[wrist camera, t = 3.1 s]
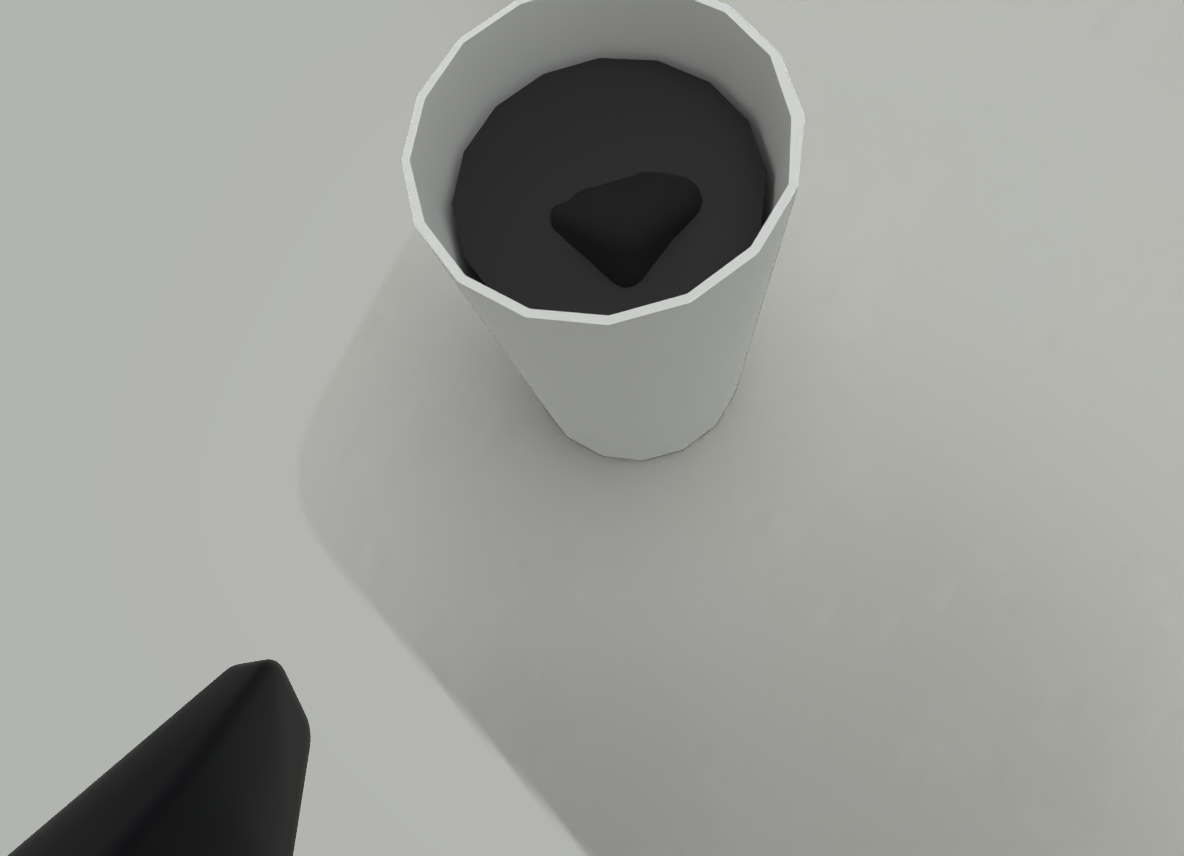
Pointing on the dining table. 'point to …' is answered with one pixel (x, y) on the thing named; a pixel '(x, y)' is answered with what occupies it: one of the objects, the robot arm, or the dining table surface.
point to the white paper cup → (612, 203)
